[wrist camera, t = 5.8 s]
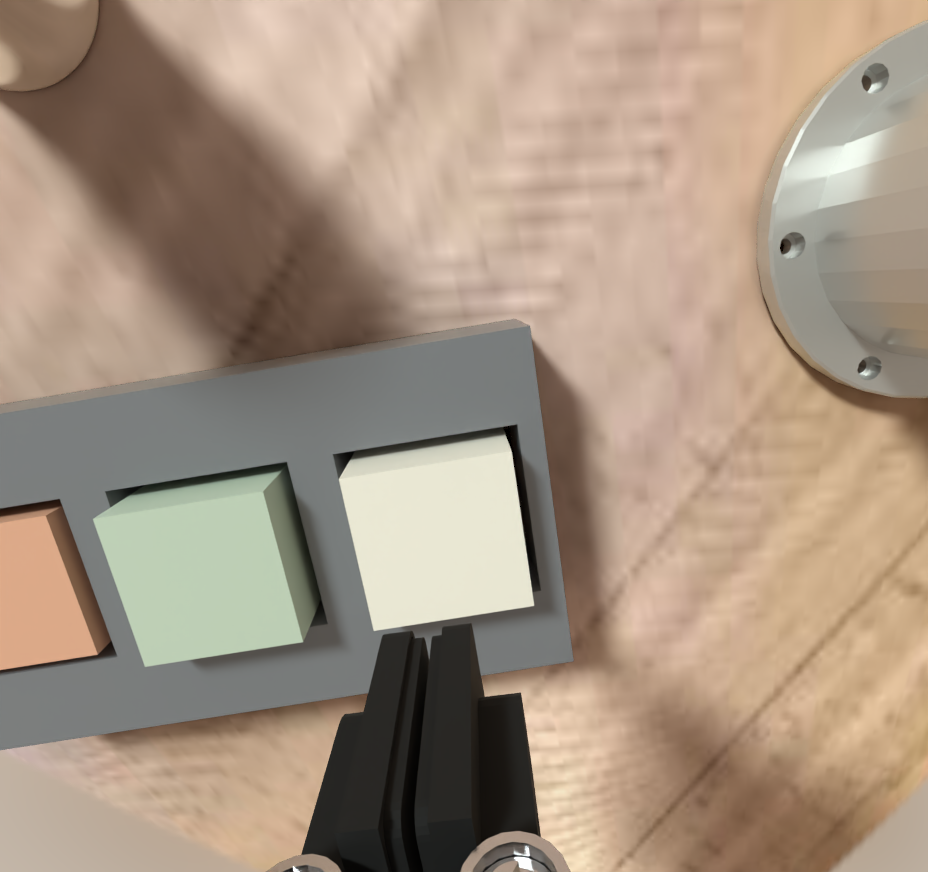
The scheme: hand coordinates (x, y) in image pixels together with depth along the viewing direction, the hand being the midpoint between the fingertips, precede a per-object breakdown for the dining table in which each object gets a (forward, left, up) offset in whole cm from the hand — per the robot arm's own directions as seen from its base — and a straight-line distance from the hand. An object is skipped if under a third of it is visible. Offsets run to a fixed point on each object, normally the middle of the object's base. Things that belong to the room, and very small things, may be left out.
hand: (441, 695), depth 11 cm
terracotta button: (+15, 0, -12) cm, 20 cm away
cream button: (0, 0, -11) cm, 11 cm away
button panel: (+8, 0, -13) cm, 15 cm away
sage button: (+8, 0, -11) cm, 13 cm away
